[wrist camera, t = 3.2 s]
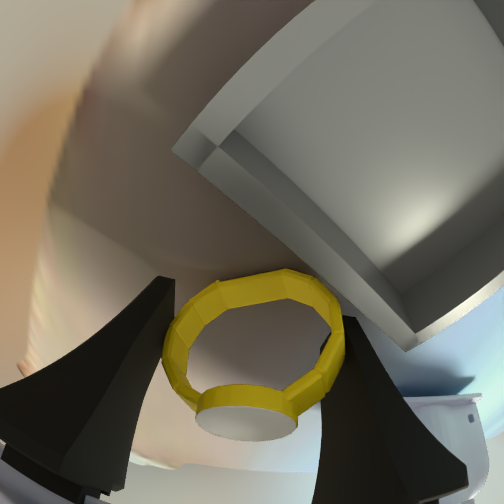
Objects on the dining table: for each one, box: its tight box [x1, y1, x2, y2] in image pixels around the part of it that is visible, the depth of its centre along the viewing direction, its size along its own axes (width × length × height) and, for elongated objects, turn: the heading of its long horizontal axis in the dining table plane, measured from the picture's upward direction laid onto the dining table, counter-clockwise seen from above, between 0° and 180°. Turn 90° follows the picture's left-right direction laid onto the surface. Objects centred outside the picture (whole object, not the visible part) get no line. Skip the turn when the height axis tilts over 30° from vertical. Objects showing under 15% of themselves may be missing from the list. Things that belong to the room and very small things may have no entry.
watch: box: [161, 268, 345, 441], centre depth 9 cm, size 6×3×6 cm, turn 105°
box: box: [171, 0, 504, 352], centre depth 6 cm, size 11×11×2 cm
